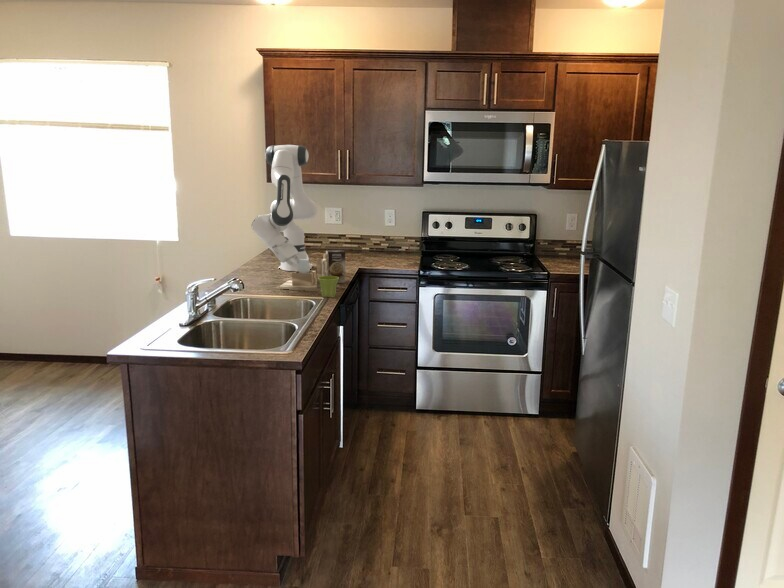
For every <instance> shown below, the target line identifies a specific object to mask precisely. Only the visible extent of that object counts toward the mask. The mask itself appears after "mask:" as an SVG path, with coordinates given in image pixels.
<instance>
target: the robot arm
mask: <svg viewBox="0 0 784 588" xmlns="http://www.w3.org/2000/svg"><path fill="white" fill-rule="evenodd" d="M309 155H310V154H309V151H308V148H307V147H306V146H304V145H300V144H299V145H294V144H280V145H275V144H273V145H269V146H268V147H267V148H266V151H265V156H264V157H265V160H266V163H267V164H268V165H269V166H271V168H270V169H271V170H270V172H271V173H270V177H271V179H270V180H271V183H272V185H273V186H274V187H276V199H274V200H273V201H272V202H271V204H270V206H269V207H270V213H268V214H267V213H265V214H258V215H257V216H255V219H254V220H252V223H251V229H252V231H253V233H255V235H256V236H257V237H258V239H260V240H261V241H263V242H264V244H265V245H266V247H267V248H268V249H269V250H270V251H271V252H272V253H273V254H274V255H275V257H276V258H277V259H278V260H279V261H280V265H279V266H278V269H279V268H280V270H282V271H285V272H286V271H289V272H295V271H296V270H299V260H300V259H309V255H308V254H307V252H306V244H307V243H305V231H304V229H303V228H302V227H301V226H299V225H297V224H295V222H294V220H310V219H311V220H312V219H314V218H315V217H316V216H317V213H318V205H317V204H316V202H314V200H312V199H311V198H310V197H309V196H308V195H307V193H306V191H305V189H304V184H303V173H302V167H304V166H306V165H307V163H308V161H309ZM291 198H292V199H291ZM281 232H283V235H282V233H281ZM312 267H313V263H309V270H310V269H311V270H312Z"/></svg>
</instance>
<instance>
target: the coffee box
mask: <svg viewBox="0 0 784 588" xmlns="http://www.w3.org/2000/svg"><path fill="white" fill-rule="evenodd" d="M325 254H328V276H337V277H339V279H338V282H337V284H343V283H346V251H345V250H344V249H334V250H333V249H331V250H330V249H329V250H328V249H326V250H325Z"/></svg>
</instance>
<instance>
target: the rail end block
mask: <svg viewBox="0 0 784 588" xmlns="http://www.w3.org/2000/svg"><path fill="white" fill-rule="evenodd" d="M309 264H310V258H308V259H300V260H299V273H309Z"/></svg>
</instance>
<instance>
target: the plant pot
mask: <svg viewBox="0 0 784 588" xmlns="http://www.w3.org/2000/svg"><path fill="white" fill-rule="evenodd" d="M318 279H319V282H320V286H321V291H320V292H321V297H323V298H326V297H327V298H334V297H335V296H336V292H337V285H338V283H337V282H338V279H339V277H337V276H321V277H318Z"/></svg>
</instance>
